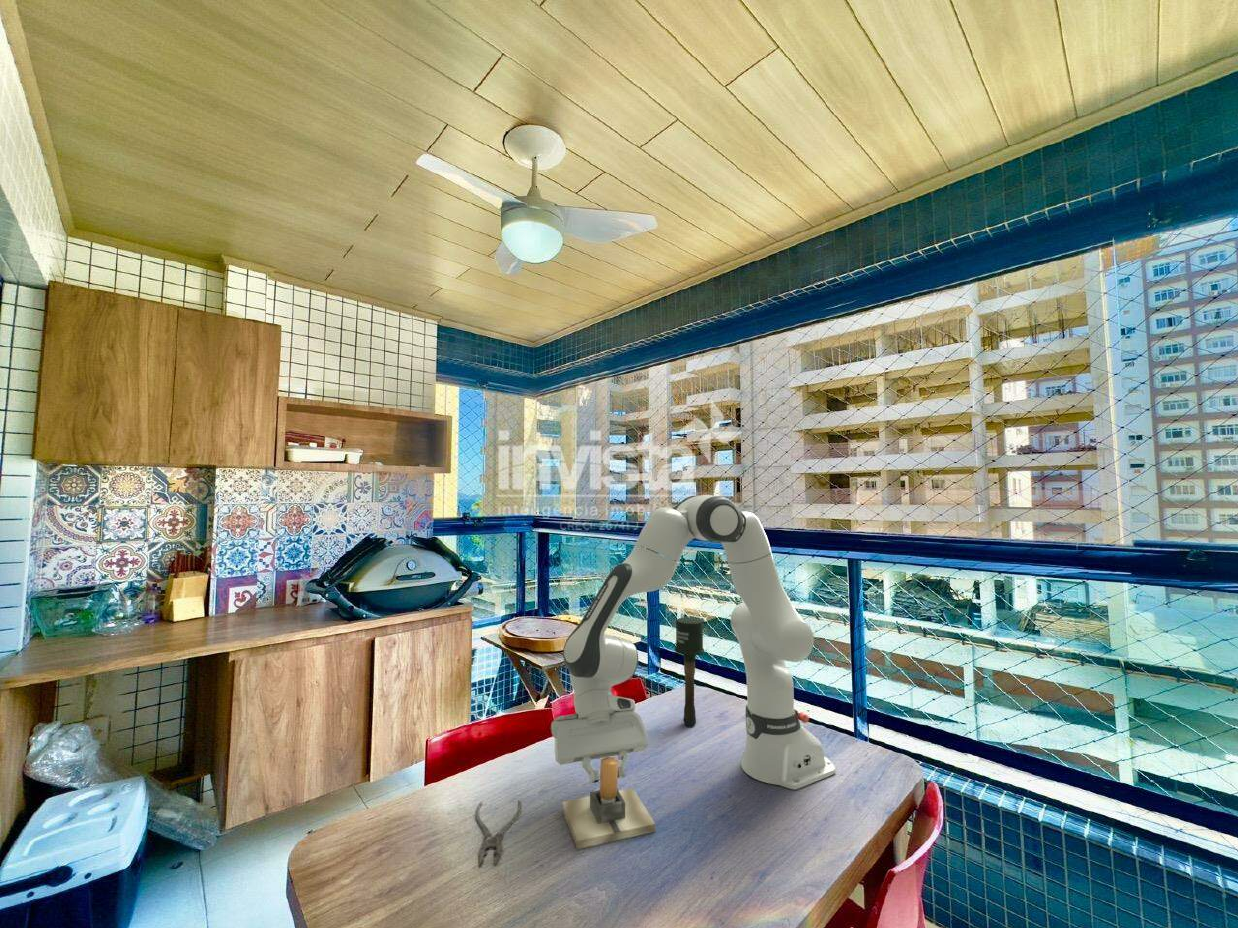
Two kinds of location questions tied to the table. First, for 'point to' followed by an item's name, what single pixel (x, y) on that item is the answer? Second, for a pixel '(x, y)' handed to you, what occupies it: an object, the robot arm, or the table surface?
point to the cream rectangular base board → (606, 818)
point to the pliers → (493, 837)
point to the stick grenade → (689, 659)
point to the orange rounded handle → (608, 780)
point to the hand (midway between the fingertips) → (608, 779)
